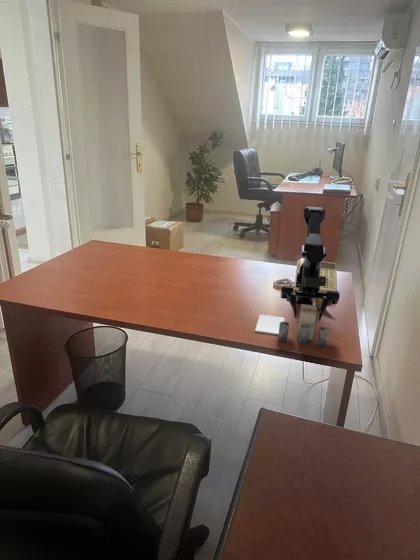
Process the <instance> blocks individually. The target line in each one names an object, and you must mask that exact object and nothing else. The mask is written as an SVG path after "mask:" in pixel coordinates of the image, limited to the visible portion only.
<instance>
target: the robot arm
mask: <svg viewBox="0 0 420 560" xmlns="http://www.w3.org/2000/svg"><path fill="white" fill-rule="evenodd" d="M302 218H303V224H304V226H305V228H306V236H305V238H304V244H302V246H301V257H303V259H304V260H303V263H302V264H301V265H300V267H299V269H298V272H297V274H296V278H295V288H296V289H294V286H292V285H282V286H281V291H280V299H282V300H286V302H289V304H290V307H291V308H292V313H293V317H294V319H296V318H297V312H298V311H297V304H305V305H312V306H314V299H315V298H318V299H323V301H322V304H321V309H319V315H318V322H320V321H321V319H322V317H323V314H324V312H325V311H326V309H327V308H328V307H330V306H331V305H337V304H338V303H339V300H340V297H341V296H340V292H339V291H338V290H328V289H327V291H326V292H324V293H323V292H320V289H321V287H326V284H327V276H324V275H323V276H322V275H321V267H322V264H323V261H324V259H325V257H327V256H328V252H327V249H326V246H324V239H323V238H322V237H321V235H320V234H321V226H322V224H323V221H324V220H325V219H326V209H324V208H323V207H321V206H319V207H318V206H306V207H305V208H303V212H302ZM297 288H298V289H297Z"/></svg>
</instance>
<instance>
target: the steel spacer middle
mask: <svg viewBox="0 0 420 560" xmlns="http://www.w3.org/2000/svg"><path fill="white" fill-rule="evenodd" d="M309 330H310V326H308V325H305V324H303V325H301V326H300V332H299V338H298V340H297V341H298V342H297V343H298V345H300V346H307V345H308V343H309V339H308V337H309Z"/></svg>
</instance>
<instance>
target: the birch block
mask: <svg viewBox="0 0 420 560" xmlns="http://www.w3.org/2000/svg"><path fill="white" fill-rule="evenodd" d="M316 317H317V309H316V306H315V305H310V304H303V303H300V311H299V318H298V327H297V333H296V338H297V339H299V332H300V326H301V325H303V324H305V325H308V326H310V330H309V337H308V340H310V341H311V340H313V339H314V331H315V325H316V320H317V319H316Z"/></svg>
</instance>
